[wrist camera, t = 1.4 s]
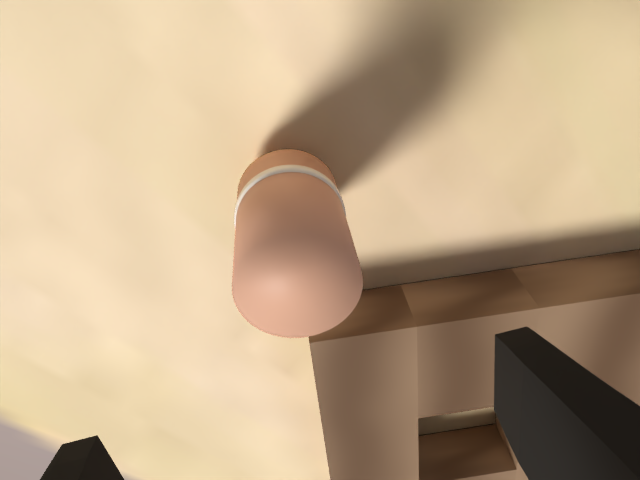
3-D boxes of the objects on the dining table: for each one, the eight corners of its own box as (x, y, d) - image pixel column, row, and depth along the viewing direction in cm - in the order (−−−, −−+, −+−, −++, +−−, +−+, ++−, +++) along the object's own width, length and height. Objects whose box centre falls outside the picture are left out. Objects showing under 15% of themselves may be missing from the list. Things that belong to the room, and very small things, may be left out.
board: (703, 240, 21) (752, 276, 19) (640, 436, 28) (672, 480, 26) (303, 298, 21) (309, 342, 19) (332, 485, 27) (338, 534, 25)
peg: (329, 129, 17) (360, 219, 12) (338, 217, 19) (368, 328, 14) (228, 143, 17) (217, 240, 12) (246, 231, 19) (243, 347, 14)
